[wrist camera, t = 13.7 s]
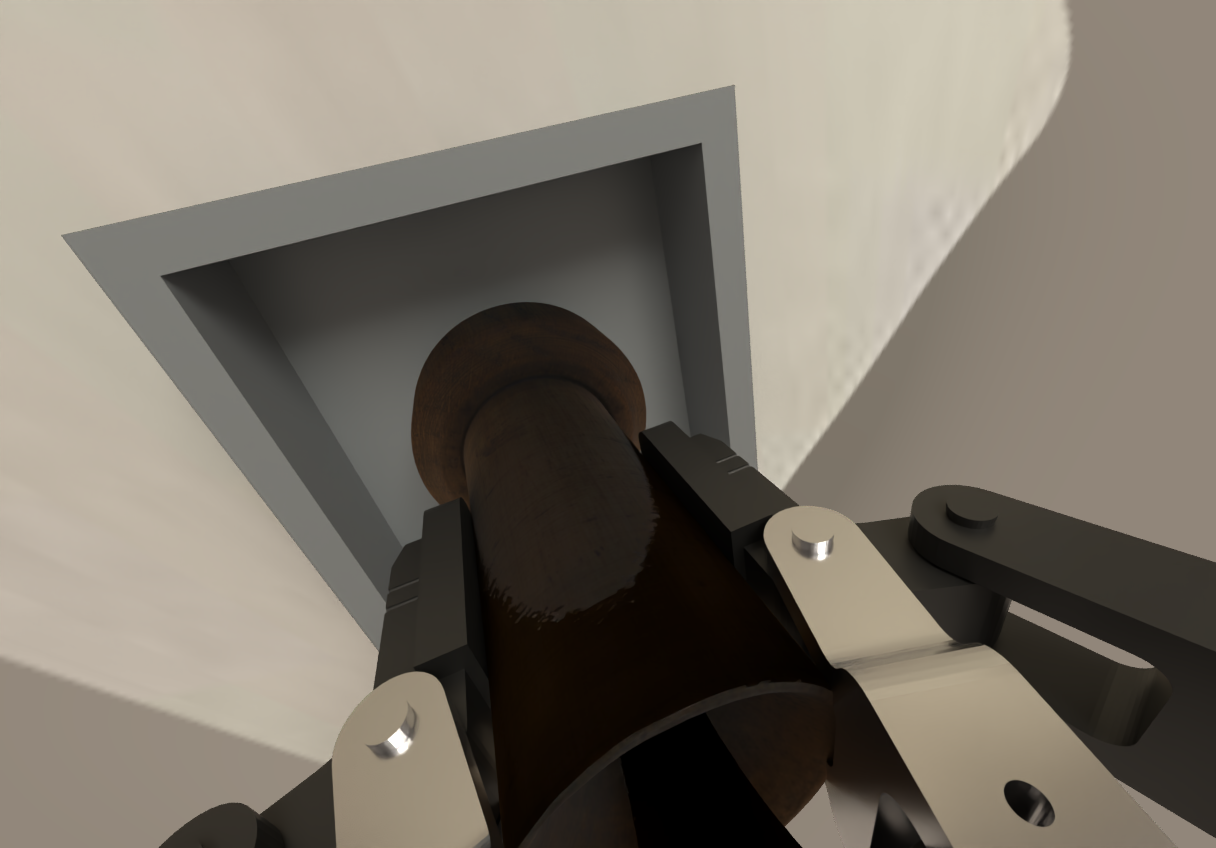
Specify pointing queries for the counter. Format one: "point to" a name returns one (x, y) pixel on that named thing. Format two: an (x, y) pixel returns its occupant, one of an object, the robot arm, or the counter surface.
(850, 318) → the counter surface
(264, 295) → the tray
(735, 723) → the turned wooden knob
